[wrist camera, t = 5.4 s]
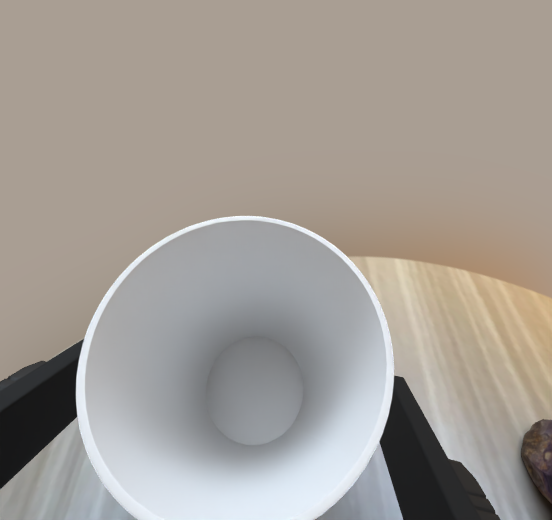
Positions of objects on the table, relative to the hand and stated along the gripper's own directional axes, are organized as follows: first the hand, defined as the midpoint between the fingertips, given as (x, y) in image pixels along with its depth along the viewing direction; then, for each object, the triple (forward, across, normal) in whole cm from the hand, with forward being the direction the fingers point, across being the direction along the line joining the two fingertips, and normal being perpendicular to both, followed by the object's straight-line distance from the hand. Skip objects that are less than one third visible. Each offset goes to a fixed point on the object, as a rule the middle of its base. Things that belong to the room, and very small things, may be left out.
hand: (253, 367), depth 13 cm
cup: (+6, 0, -6) cm, 9 cm away
